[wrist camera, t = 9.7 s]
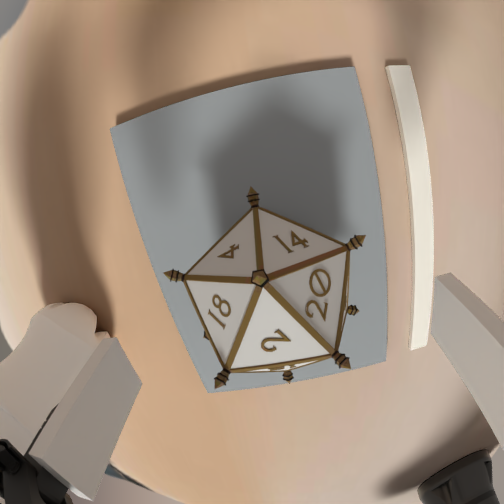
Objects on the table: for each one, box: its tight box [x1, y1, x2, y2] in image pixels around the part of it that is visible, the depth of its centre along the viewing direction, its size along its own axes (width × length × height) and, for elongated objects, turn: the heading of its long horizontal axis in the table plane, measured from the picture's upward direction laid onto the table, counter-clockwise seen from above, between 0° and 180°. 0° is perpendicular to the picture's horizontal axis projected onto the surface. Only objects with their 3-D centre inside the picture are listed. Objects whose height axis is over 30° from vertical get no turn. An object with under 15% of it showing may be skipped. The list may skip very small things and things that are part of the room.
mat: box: [110, 67, 387, 393], centre depth 18 cm, size 20×14×1 cm
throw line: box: [385, 65, 434, 350], centre depth 17 cm, size 20×2×1 cm, turn 14°
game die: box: [163, 186, 366, 389], centre depth 14 cm, size 9×8×10 cm
